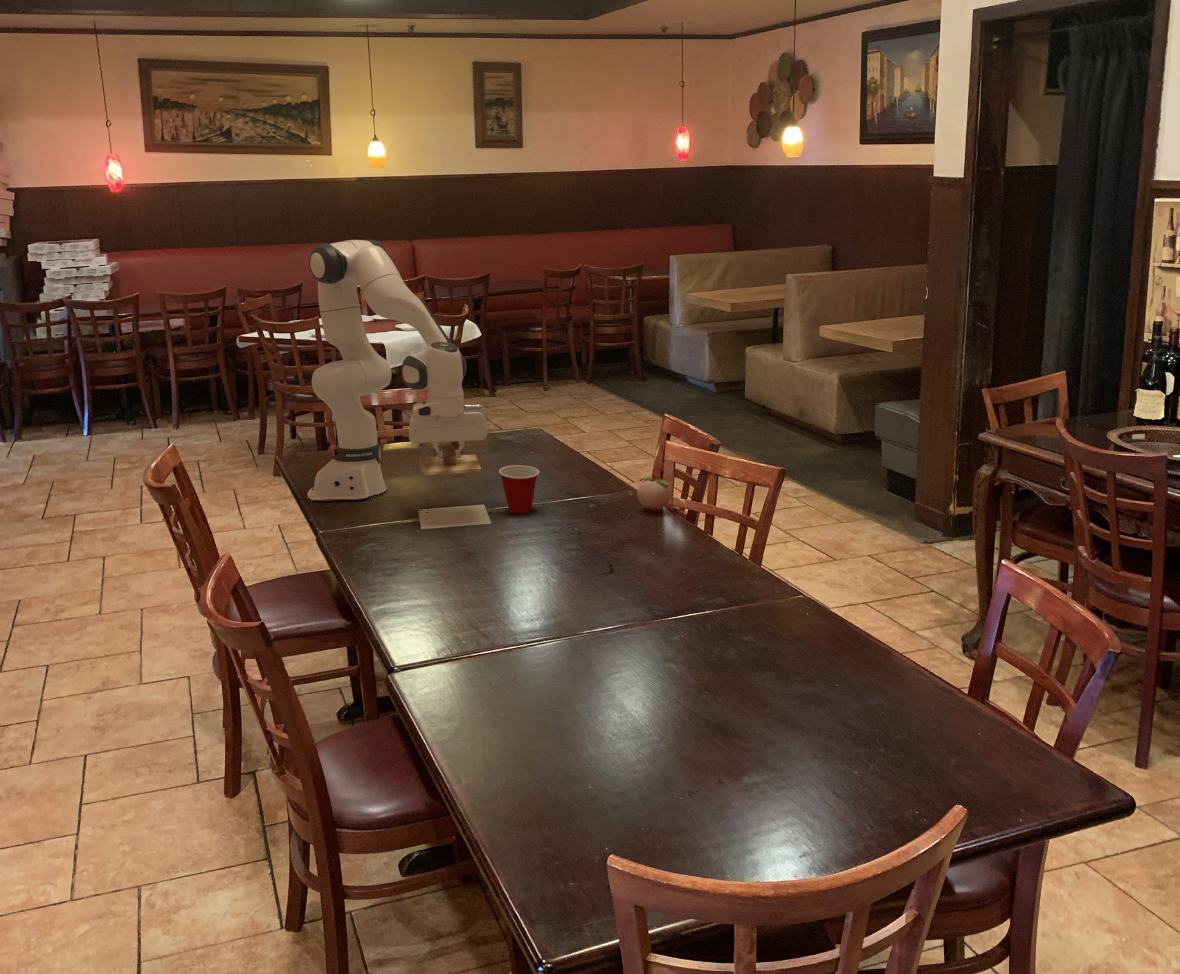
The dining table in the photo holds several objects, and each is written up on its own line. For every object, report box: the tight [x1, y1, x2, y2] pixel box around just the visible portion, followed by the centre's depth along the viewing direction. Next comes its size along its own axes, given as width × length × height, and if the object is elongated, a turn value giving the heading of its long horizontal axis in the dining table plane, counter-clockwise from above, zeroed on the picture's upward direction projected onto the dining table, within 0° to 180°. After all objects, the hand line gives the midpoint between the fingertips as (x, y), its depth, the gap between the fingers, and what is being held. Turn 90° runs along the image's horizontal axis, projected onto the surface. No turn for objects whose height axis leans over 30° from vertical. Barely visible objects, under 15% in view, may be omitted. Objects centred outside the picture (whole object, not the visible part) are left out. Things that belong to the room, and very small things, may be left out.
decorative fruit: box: [636, 474, 673, 512], centre depth 294 cm, size 9×8×10 cm
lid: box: [418, 445, 482, 476], centre depth 290 cm, size 15×15×5 cm
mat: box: [418, 504, 492, 530], centre depth 294 cm, size 18×18×1 cm
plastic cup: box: [498, 464, 540, 515], centre depth 296 cm, size 11×11×12 cm
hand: (449, 457), depth 290 cm, fingers closed on lid, 3 cm apart
